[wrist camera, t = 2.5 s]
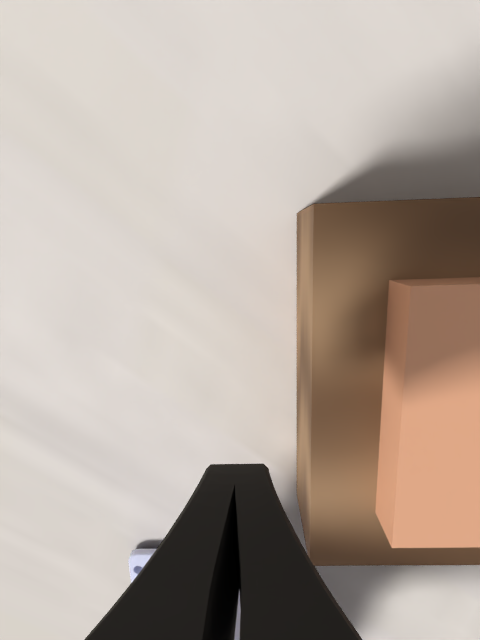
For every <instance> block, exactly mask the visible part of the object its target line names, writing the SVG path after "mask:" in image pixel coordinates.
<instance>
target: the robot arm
mask: <svg viewBox="0 0 480 640" xmlns="http://www.w3.org/2000/svg"><path fill="white" fill-rule="evenodd" d="M128 562H129V570H130V577H131V584H130V586H129V587H128V588H127V589H126V591H125V592H124V593H123V594H122V596H121V597H120V598H119V599H118V601H117V602H116V603H115V604H114V605H113V607H112V608H111V609H110V610H109V612H108V613H107V614H106V615H105V616H104V617H103V619H102V620H101V621H100V622H99V623H98V624H97V626H96V627H95V628H94V629H93V630H92V631H91V633H90V634H89V635H88V636H87V637H86V638H85V640H362V638H361V637H360V636H359V634H358V633H357V631H356V630H355V628H354V627H353V625H352V624H351V623H350V621H349V620H348V618H347V617H346V615H345V614H344V612H343V611H342V609H341V608H340V606H339V605H338V603H337V602H336V600H335V599H334V597H333V596H332V594H331V593H330V591H329V589H328V588H327V586H326V585H325V583H324V582H323V580H322V578H321V577H320V575H319V573H318V572H317V570H316V568H315V567H314V565H313V563H312V562H311V560H310V558H309V557H308V555H307V553H306V551H305V550H304V548H303V546H302V544H301V542H300V540H299V539H298V537H297V535H296V533H295V531H294V529H293V527H292V525H291V523H290V521H289V520H288V518H287V516H286V513H285V511H284V509H283V507H282V505H281V503H280V500H279V498H278V496H277V494H276V491H275V488H274V486H273V483H272V480H271V477H270V474H269V469H268V468H267V467H266V466H265V465H264V464H213V465H210V466H209V467H208V468H207V469H206V471H205V473H204V475H203V477H202V478H201V480H200V482H199V484H198V486H197V488H196V489H195V491H194V493H193V495H192V496H191V498H190V500H189V501H188V503H187V504H186V506H185V508H184V509H183V511H182V512H181V514H180V515H179V517H178V519H177V520H176V522H175V523H174V525H173V526H172V528H171V529H170V531H169V532H168V534H167V535H166V537H165V538H164V540H163V541H162V543H161V544H160V545H159V547H158V548H157V549H135V550H133V551H132V552H131V554H130V557H129V561H128ZM138 566H141V567H138Z"/></svg>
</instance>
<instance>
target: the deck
mask: <svg viewBox="0 0 480 640" xmlns="http://www.w3.org/2000/svg"><path fill="white" fill-rule="evenodd" d="M470 277H480V197H470V198H445V199H420V200H395V201H370V202H345V203H320V204H312V205H311V206H309V207H307V208H305V209H303V210H302V211H300V212H298V213H297V499H298V504H299V510H300V515H301V521H302V526H303V531H304V537H305V542H306V548H307V553H308V557H309V558H310V560H311V562H312V563H313V565H314V566H341V565H480V547H463V548H392V547H391V545H390V543H389V541H388V539H387V537H386V534H385V532H384V530H383V528H382V526H381V524H380V521H379V519H378V517H377V515H376V513H375V510H376V493H377V476H378V459H379V442H380V425H381V408H382V391H383V374H384V357H385V341H386V324H387V307H388V290H389V280H408V279H439V278H470Z"/></svg>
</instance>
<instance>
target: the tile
mask: <svg viewBox="0 0 480 640" xmlns="http://www.w3.org/2000/svg"><path fill="white" fill-rule="evenodd" d="M375 513H376V515H377V517H378V519H379V521H380V524H381V526H382V528H383V530H384V532H385V534H386V537H387V539H388V541H389V543H390V545H391V547H392V548H463V547H480V277H470V278H439V279H408V280H389V290H388V307H387V324H386V341H385V357H384V374H383V391H382V408H381V425H380V442H379V459H378V476H377V493H376V510H375Z"/></svg>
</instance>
